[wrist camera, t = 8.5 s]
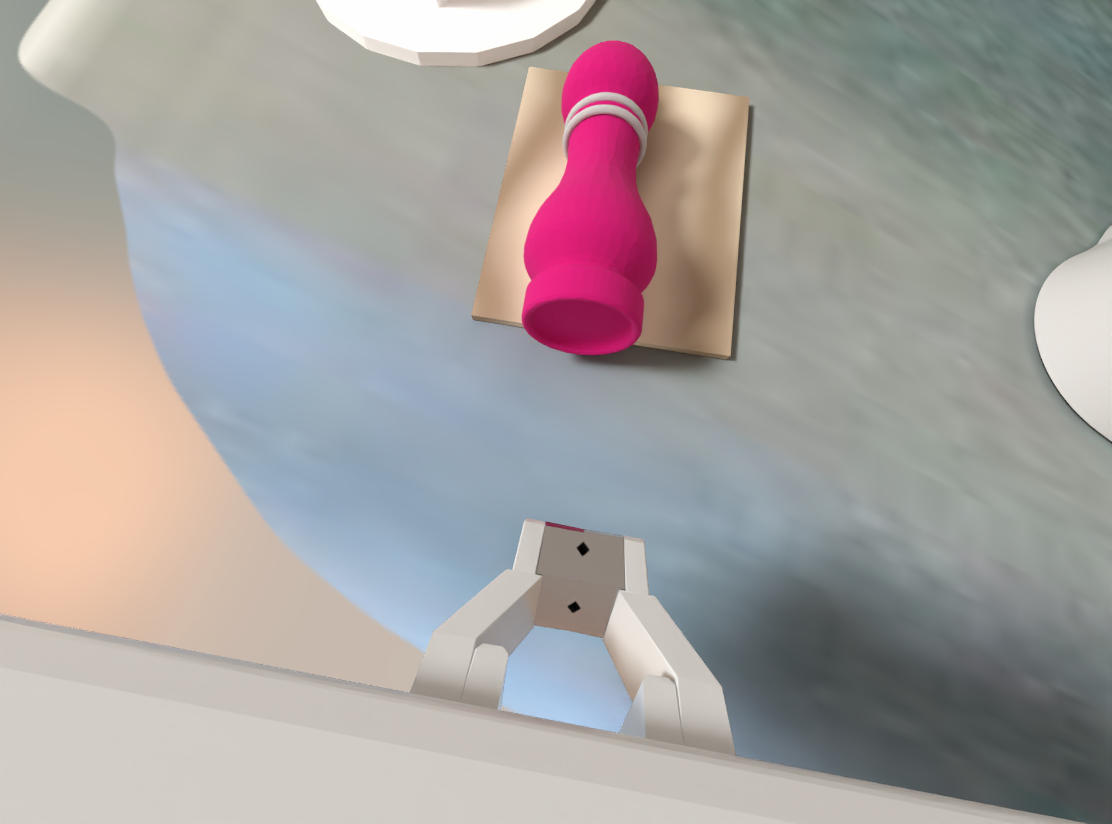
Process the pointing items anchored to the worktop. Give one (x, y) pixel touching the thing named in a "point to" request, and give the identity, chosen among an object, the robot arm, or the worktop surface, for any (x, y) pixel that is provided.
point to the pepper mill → (596, 211)
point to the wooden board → (669, 196)
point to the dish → (454, 27)
